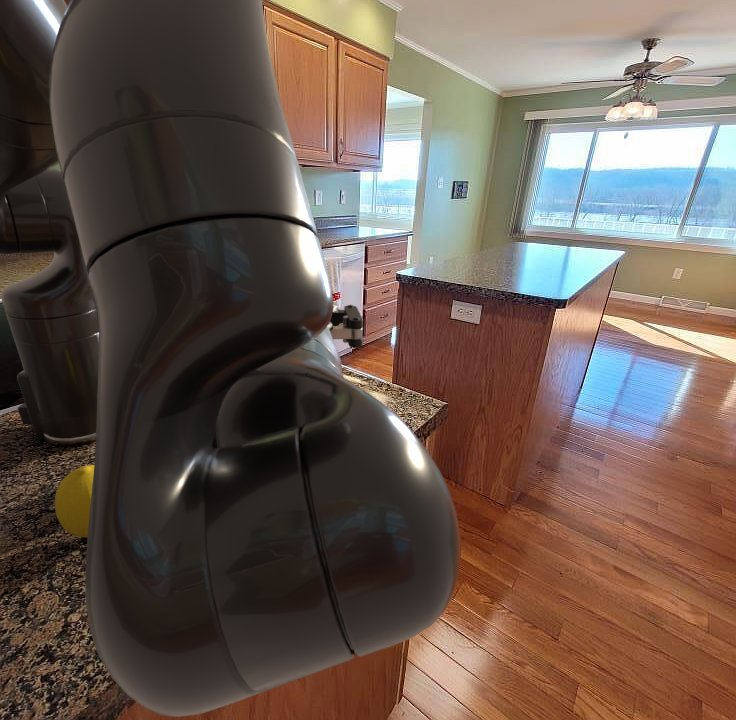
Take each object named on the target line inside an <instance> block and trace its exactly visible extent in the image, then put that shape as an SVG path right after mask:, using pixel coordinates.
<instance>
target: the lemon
mask: <svg viewBox="0 0 736 720" xmlns="http://www.w3.org/2000/svg"><path fill="white" fill-rule="evenodd" d="M93 475H94V464H89V465H83V466H79V467H78V468H76V469H74V470H72V471H70V472H69V473H68V474H67V475H66V476H65V477H64V478H63V479H62V480H61V482H60V483H59V484H58V487H57V488H56V491H55V496H54V510H55V511H54V512H55V515H56V518H57V521H58V522H59V524H60V525H61V527H62V529H64V530H65V531H66V532H67V533H69V534H71V535H73V536H75V537H79V538H88V526H89V516H90V506H91V495H92V485H93Z"/></svg>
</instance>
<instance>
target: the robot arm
mask: <svg viewBox="0 0 736 720" xmlns="http://www.w3.org/2000/svg"><path fill="white" fill-rule="evenodd" d="M264 15H265V14H264V7H263V0H69V2H68V4H67V3H66V1H65V0H0V255H18V254H19V255H26V254H41V253H42V254H44V253H45V254H46V253H47V254H48V253H53V259H52V261H50V262H49V264H48V265H47V266H46V267H44V268H43V269H42V270H40V271H38V272H36V273H35V274H32V275H30V276H27V277H26V278H23V279H21V280H19V281H16V282H14V283H11V284H9V285H8V286H6V287H4V288H3V290H2V291H1V293H0V300H1V303H2V307H3V310H4V313H5V315H6V319H7V322H8V325H9V328H10V331H11V334H12V338H13V340H14V344H15V346H16V350H17V353H18V356H19V359H20V362H21V365H22V368H23V370H21V371H20V372H19V373H17V376H16V379H17V383H18V385H19V389H20V391H21V392H20V393H21V395H22V398H23V400H24V402H23V403H21V404H20V405H19V406H18V407H17V411H18V414H19V416H20V419H21V422H22V426H29V425H30V426H31V425H32V428H33V431H34V434H35V438H36V440H37V441H46V442H47V443H50V444H52V445H57V446H58V445H59V446H74V445H75V446H76V445H81V444H87V443H89V442H90V443H91V442H93V441H95V447H94V462H93V465H94V475H93V485H92V495H91V506H90V516H89V526H88V537H86V538H87V541H86V550H85V551H86V552H85V592H84V593H85V595H84V598H85V606H86V613H87V620H88V627H89V631H90V634H91V639H92V641H93V645H94V647H95V650H96V652H97V656H98V657H99V659H100V661H101V662H102V664H103V666H104V667H105V669H106V671H107V673H108V675H110V678H111V679H112V680H113V681H114V682H115V683H116V684H117V685H118V686H119V688H120V689H121V690H122V691H123V692H124V693H125V694H126V695H127V696H128V697H129V698H131V699H132V700H133V701H135V702H136V703H138V705H140V706H141V707H143V708H144V709H146V710H149V711H151V712H153V713H156V714H158V715H160V716H165V717H173V718H182V717H189V716H196V715H202V714H206V713H208V712H212V711H215V710H217V709H220V708H224V707H226V706H230V705H232V704H235V703H238V702H240V701H243V700H246V699H249V698H252V697H254V696H256V695H259V694H262V693H264V692H267V691H269V690H272V689H275V688H277V687H278V688H279V687H280V686H284V685H286V684H290V683H292V682H295V681H297V680H300V679H303V678H306V677H308V676H312V675H315V674H317V673H319V672H322V671H327V670H328V669H331V668H334V667H336V666H340V665H342V664H345V663H348V662H351V661H353V660H354V659H355V656H357V657H359V658H360V657H361V658H363V657H365V656H368V655H371V654H373V653H377V652H379V651H382V650H384V649H388V648H390V647H393V646H396V645H398V644H401V643H403V642H405V641H408V640H411V639H413V638H416V637H417V636H418V635H420V634H421V633H423V632H425V631H427V630H429V629H430V628H431V627H432V626H433V625H434V624H435V623H436V622H437V621H438V620H439V619H440V618H441V617H442V616H443V615H444V614H445V612H446V610H447V608H448V607H449V604H450V602H451V601H452V599H453V597H454V593H455V590H456V587H457V583H458V580H459V577H460V576H459V575H460V569H461V557H462V538H461V530H460V523H459V518H458V513H457V509H456V506H455V503H454V501H453V497H452V494H451V492H450V489H449V486H448V484H447V482H446V480H445V478H444V476H443V474H442V473H441V470H440V468H439V467H438V465H437V463H436V462H435V460H434V459H433V457H432V456H431V454H430V453H429V451H428V449H427V448H426V447H425V445H424V444H423V442H422V441H421V440H420V439H419V438H418V436H417V435H416V434H415V432H413V430H412V429H411V428H410V427H409V426H408V424H406V422H405V421H404V420H403V419H402V418H401V417H400V416H399V415H397V414H396V412H394V411H393V410H392V409H391V408H389V407H388V406H387V405H386V404H384V403H383V402H382V401H380V400H379V399H378V398H376V397H375V396H374V395H372V394H370V392H368V391H366V390H364V389H363V388H361V387H359V386H358V385H356V384H355V383H353V382H351V381H350V380H349V379H347V378H345V377H344V374H343V365H342V360H341V356H340V353H339V350H338V347H337V345H336V342H335V341H334V340H342V342H343V343H345V344H348V347H350V348H353V349H359V348H362V347H363V341H364V340H363V339H364V338H363V336H364V334H363V333H364V318H363V317H362V315H361V312H360V310H359V309H358V306H356V305H353V304H348V305H344V309H339V307H338V304H335V303H334V298H333V291H332V284H331V279H330V275H329V271H328V267H327V263H326V260H325V257H324V253H323V249H322V246H321V241H320V239H319V234H318V231H317V230H318V229H317V227H316V223H315V219H314V216H313V212H312V208H311V205H310V201H309V197H308V194H307V190H306V187H305V183H304V180H303V174H302V172H301V169H300V165H299V162H298V158H297V153H296V150H295V147H294V144H293V140H292V135H291V132H290V129H289V126H288V123H287V118H286V114H285V111H284V108H283V105H282V100H281V96H280V92H279V86H278V83H277V77H276V73H275V70H274V65H273V61H272V57H271V50H270V45H269V44H270V43H269V39H268V33H267V28H266V21H265V16H264ZM58 164H59V165H58ZM57 165H58V166H59V168H60V169H58V168H54V167H55V166H57Z"/></svg>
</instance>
